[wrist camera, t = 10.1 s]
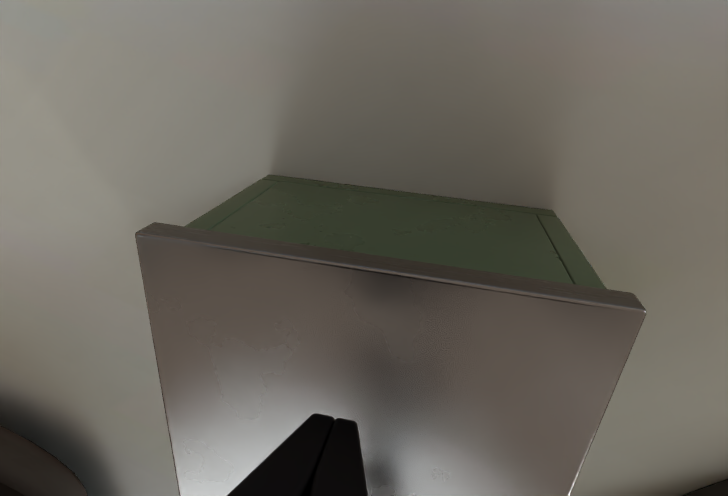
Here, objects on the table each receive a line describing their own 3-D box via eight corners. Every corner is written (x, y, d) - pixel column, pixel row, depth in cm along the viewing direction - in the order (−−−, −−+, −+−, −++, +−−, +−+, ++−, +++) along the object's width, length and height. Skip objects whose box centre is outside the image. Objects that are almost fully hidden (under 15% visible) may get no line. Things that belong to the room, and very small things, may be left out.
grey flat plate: (153, 220, 11) (132, 232, 10) (634, 291, 9) (649, 311, 9) (200, 535, 17) (189, 557, 16) (506, 614, 15) (509, 642, 14)
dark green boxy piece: (268, 173, 18) (163, 237, 12) (554, 209, 17) (621, 308, 10) (271, 401, 23) (201, 534, 17) (490, 445, 22) (506, 612, 15)
